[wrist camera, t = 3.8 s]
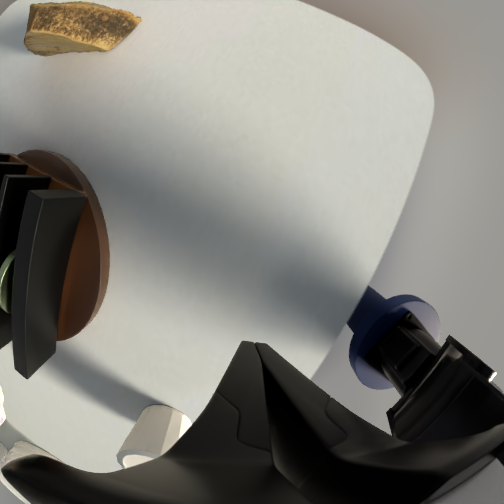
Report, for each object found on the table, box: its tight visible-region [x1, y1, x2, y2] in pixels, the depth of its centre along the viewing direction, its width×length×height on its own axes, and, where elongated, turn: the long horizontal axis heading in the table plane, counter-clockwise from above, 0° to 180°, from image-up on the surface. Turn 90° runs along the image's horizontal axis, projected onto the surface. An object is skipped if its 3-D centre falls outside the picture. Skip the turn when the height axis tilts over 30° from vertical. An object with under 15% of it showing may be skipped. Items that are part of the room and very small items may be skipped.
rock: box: [24, 1, 142, 56], centre depth 12 cm, size 11×9×10 cm
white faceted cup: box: [117, 405, 192, 469], centre depth 20 cm, size 7×7×7 cm
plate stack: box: [0, 441, 65, 504], centre depth 24 cm, size 28×28×12 cm
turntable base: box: [17, 150, 109, 341], centre depth 19 cm, size 18×18×2 cm
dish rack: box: [0, 153, 88, 379], centre depth 15 cm, size 12×15×7 cm
